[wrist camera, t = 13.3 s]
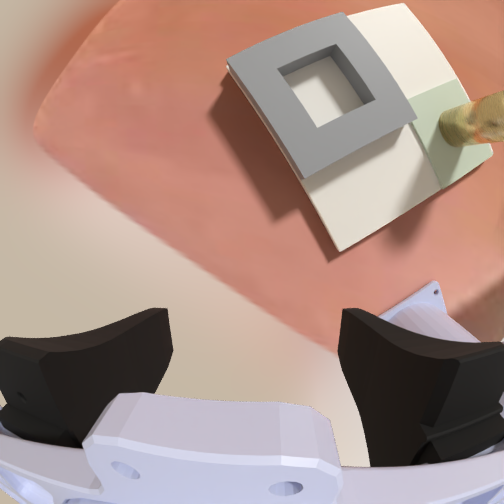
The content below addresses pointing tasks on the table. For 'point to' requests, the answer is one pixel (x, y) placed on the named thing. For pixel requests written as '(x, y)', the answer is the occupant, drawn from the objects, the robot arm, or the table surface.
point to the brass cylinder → (474, 122)
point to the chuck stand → (359, 115)
